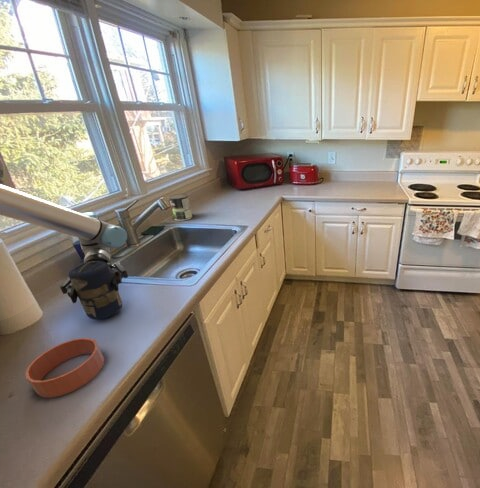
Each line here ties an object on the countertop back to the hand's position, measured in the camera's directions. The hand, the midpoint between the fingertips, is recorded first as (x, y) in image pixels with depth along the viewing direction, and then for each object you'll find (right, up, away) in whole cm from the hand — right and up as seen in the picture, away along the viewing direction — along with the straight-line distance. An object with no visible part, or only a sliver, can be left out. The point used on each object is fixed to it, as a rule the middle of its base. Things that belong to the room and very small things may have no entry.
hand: (94, 293), depth 83 cm
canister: (-2, -8, +8) cm, 11 cm away
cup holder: (+4, -19, -12) cm, 23 cm away
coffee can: (-19, +31, +91) cm, 98 cm away
